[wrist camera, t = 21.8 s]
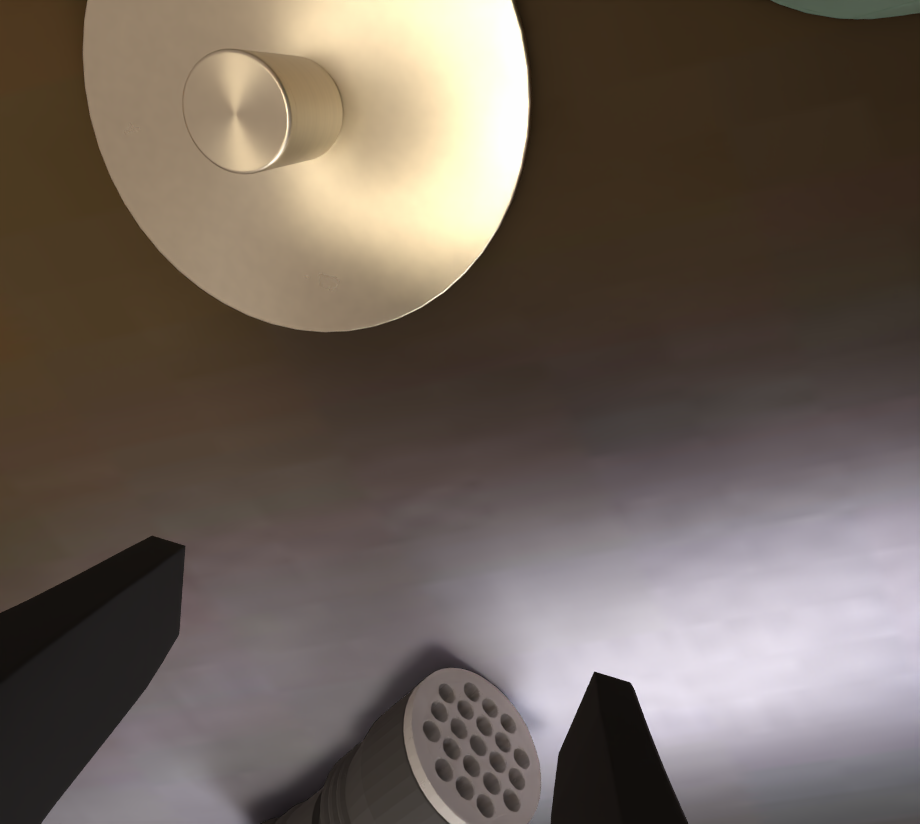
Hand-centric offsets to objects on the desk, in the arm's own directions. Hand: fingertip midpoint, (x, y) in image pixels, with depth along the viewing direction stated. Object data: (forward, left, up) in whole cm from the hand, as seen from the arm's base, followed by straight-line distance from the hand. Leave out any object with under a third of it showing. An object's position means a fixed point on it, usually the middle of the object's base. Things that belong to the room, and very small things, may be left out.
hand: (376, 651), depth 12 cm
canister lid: (+6, -7, -10) cm, 13 cm away
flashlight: (0, +17, -11) cm, 20 cm away
